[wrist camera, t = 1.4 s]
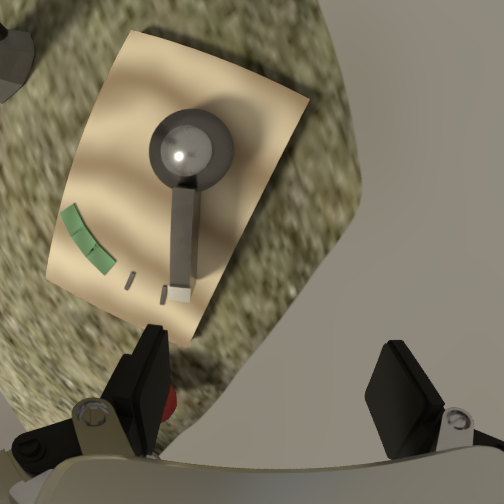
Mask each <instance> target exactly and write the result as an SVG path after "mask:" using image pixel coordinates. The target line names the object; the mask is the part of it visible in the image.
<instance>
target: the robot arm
mask: <svg viewBox="0 0 504 504" xmlns="http://www.w3.org/2000/svg"><path fill="white" fill-rule="evenodd" d="M170 385H171V381H170V364H169V344H168V330H163V326H162V325H155V324H147V326H146V328H145V330H144V332H143V334H142V336H141V338H140V339H139V341H138V343H137V345H136V347H135V349H134V351H133V353H132V355H131V354H123V356H122V357H121V359H120V361H119V363H118V365H117V366H116V368H115V370H114V372H113V374H112V376H111V378H110V380H109V382H108V384H107V386H106V388H105V389H104V391H103V393H102V395H101V397H100V398H95V397H94V398H86V399H83V400H81V401H79V402H78V403H77V404H76V405H75V406H74V407H73V410H72V418H70V419H67V420H64V421H61V422H58V423H55V424H52V425H49V426H46V427H42V428H39V429H36V430H32V431H29V432H26V433H23V434H21V435H19V436H18V437H17V438H16V439H15V440H14V442H13V443H12V449H11V450H9V451H7V452H6V451H5V450H4V449H3V450H1V451H0V504H504V441H501V440H499V439H497V438H494V437H492V436H489V435H487V434H485V433H482V432H480V431H477V430H475V429H474V420H473V419H472V416H471V415H470V414H469V413H468V412H466V411H465V410H463V409H461V408H456V407H453V408H449V409H447V410H445V409H444V407H443V406H444V405H445V403H444V401H443V400H442V398H441V396H440V395H439V393H438V392H437V390H436V389H435V387H434V386H433V384H432V383H431V381H430V380H429V378H428V377H427V375H426V374H425V373H424V371H423V369H422V368H421V366H420V365H419V363H418V362H417V360H416V359H415V357H414V356H413V355H412V353H411V351H410V350H409V348H408V347H407V346H406V344H405V343H404V341H402V340H389V341H388V342H387V344H384V345H383V348H382V350H381V353H380V356H379V359H378V361H377V364H376V366H375V369H374V372H373V374H372V377H371V379H370V382H369V384H368V387H367V389H366V392H365V401H366V403H367V406H368V408H369V411H370V413H371V416H372V418H373V421H374V423H375V426H376V428H377V431H378V433H379V436H380V439H381V441H382V444H383V446H384V449H385V452H386V454H387V457H388V458H389V459H391V460H389V461H382V462H375V463H368V464H360V465H351V466H340V467H329V468H310V469H246V468H228V467H216V466H206V465H196V464H187V463H179V462H172V461H165V460H161V459H160V457H159V456H158V455H157V454H156V453H155V452H153V449H154V446H155V442H156V438H157V435H158V431H159V427H160V424H161V420H162V416H163V413H164V409H165V406H166V402H167V399H168V395H169V392H170Z"/></svg>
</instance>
